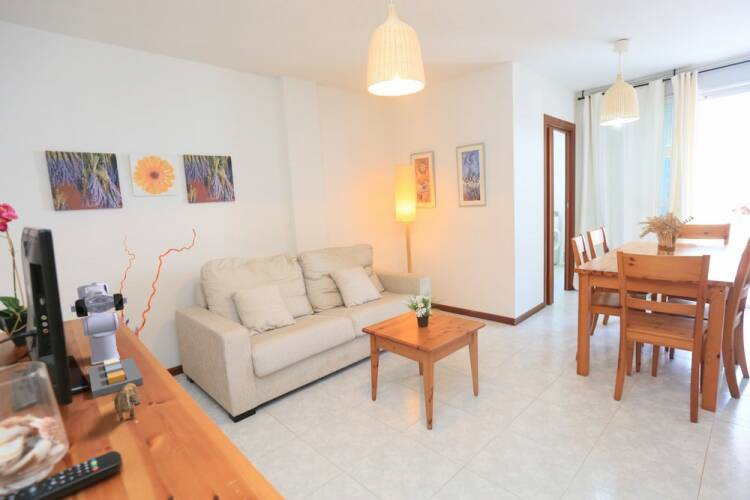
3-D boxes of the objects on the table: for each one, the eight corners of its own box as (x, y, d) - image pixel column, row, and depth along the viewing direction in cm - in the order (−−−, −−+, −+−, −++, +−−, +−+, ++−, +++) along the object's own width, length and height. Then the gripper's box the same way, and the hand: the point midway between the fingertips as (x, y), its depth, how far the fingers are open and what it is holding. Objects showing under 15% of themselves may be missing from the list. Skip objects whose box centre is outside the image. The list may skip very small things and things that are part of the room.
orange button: (108, 382, 113) (107, 374, 113) (124, 378, 116) (123, 370, 115) (109, 387, 110) (108, 378, 110) (125, 382, 113) (124, 374, 112)
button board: (89, 373, 123) (88, 367, 122) (133, 363, 130) (132, 357, 130) (93, 398, 106) (92, 391, 106) (143, 384, 114) (142, 377, 113)
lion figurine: (143, 423, 93) (139, 388, 92) (117, 431, 90) (112, 395, 89) (140, 399, 105) (136, 367, 104) (117, 405, 102) (112, 372, 101)
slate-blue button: (106, 375, 118) (105, 367, 118) (121, 371, 121) (120, 363, 120) (107, 379, 115) (106, 371, 115) (123, 375, 118) (122, 367, 117)
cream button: (104, 368, 123) (103, 361, 123) (119, 364, 126) (118, 357, 125) (105, 372, 120) (104, 364, 120) (120, 368, 123) (119, 361, 122)
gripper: (68, 292, 122) (69, 302, 111) (123, 284, 131) (128, 293, 120) (71, 313, 123) (73, 325, 112) (125, 304, 132) (131, 314, 121)
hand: (102, 310), depth 116 cm, fingers open, 7 cm apart
